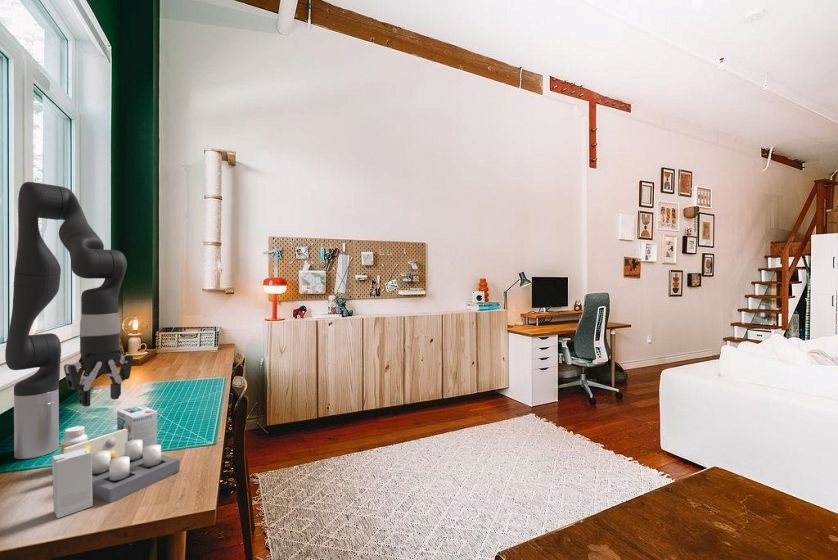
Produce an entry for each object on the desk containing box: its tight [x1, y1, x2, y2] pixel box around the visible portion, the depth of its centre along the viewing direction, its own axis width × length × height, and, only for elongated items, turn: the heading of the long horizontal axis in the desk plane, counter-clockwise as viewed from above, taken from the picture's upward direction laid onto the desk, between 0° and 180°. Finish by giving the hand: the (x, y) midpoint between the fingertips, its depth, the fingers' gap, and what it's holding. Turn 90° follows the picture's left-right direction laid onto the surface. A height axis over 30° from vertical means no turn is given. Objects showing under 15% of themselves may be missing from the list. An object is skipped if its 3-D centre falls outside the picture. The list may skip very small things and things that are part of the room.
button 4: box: [143, 444, 162, 467], centre depth 102 cm, size 4×4×4 cm
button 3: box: [125, 440, 143, 461], centre depth 106 cm, size 4×4×4 cm
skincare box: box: [51, 448, 94, 519], centre depth 87 cm, size 6×4×12 cm
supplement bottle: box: [60, 425, 89, 454], centre depth 108 cm, size 5×5×10 cm
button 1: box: [91, 451, 111, 474], centre depth 99 cm, size 4×4×4 cm
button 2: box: [109, 456, 130, 481], centre depth 96 cm, size 4×4×4 cm
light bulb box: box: [116, 404, 158, 448], centre depth 119 cm, size 11×7×11 cm, turn 55°
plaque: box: [64, 429, 128, 459], centre depth 106 cm, size 1×14×8 cm, turn 155°
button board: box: [92, 454, 181, 504], centre depth 101 cm, size 16×16×3 cm
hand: (100, 402), depth 99 cm, fingers open, 5 cm apart
